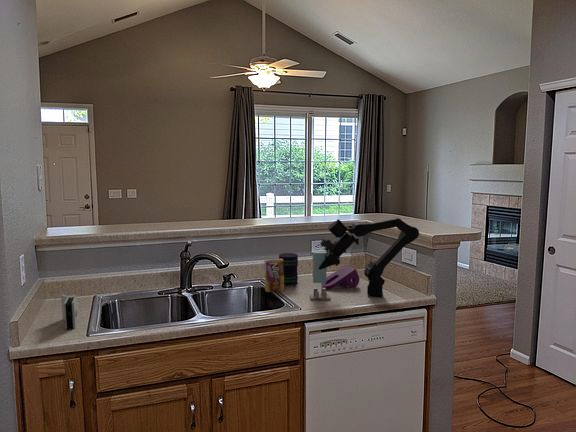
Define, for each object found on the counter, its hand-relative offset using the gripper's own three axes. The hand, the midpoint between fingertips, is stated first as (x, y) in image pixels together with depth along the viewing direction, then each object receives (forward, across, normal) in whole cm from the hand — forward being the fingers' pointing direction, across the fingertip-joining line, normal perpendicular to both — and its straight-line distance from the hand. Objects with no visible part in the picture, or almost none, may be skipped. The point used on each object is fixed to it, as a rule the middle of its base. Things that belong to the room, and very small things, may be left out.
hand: (318, 268), depth 204 cm
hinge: (+79, +36, -60) cm, 106 cm away
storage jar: (+20, -22, 0) cm, 29 cm away
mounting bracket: (+2, -16, +18) cm, 24 cm away
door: (+4, 0, +5) cm, 7 cm away
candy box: (+24, -9, -5) cm, 27 cm away
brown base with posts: (+9, +3, +10) cm, 14 cm away
